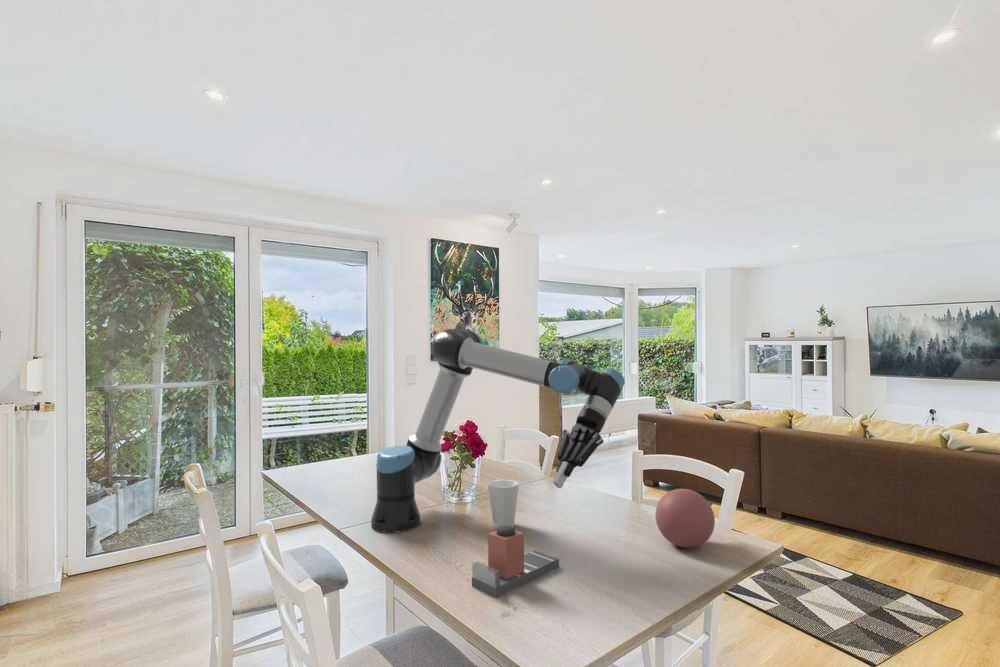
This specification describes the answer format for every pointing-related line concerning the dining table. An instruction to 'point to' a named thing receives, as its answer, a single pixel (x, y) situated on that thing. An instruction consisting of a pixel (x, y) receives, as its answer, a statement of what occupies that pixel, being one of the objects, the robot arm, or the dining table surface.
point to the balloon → (685, 518)
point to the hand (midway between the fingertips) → (556, 484)
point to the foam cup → (503, 501)
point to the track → (496, 585)
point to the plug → (506, 551)
